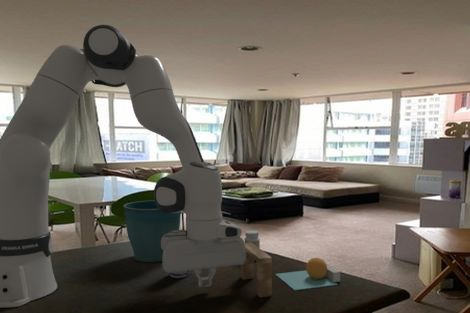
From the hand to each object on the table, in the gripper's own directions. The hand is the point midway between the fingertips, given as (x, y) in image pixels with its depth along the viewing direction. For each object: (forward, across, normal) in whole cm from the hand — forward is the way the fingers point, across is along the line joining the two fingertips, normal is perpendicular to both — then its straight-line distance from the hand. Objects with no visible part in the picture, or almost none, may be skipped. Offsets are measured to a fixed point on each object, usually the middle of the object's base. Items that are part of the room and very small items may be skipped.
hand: (205, 285), depth 95 cm
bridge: (+2, +13, 0) cm, 13 cm away
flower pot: (+2, -9, +33) cm, 34 cm away
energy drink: (+2, -4, +14) cm, 15 cm away
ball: (-1, +30, 0) cm, 30 cm away
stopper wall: (+2, +34, 0) cm, 34 cm away
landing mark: (+2, +27, 0) cm, 27 cm away
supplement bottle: (+2, +20, +22) cm, 30 cm away
